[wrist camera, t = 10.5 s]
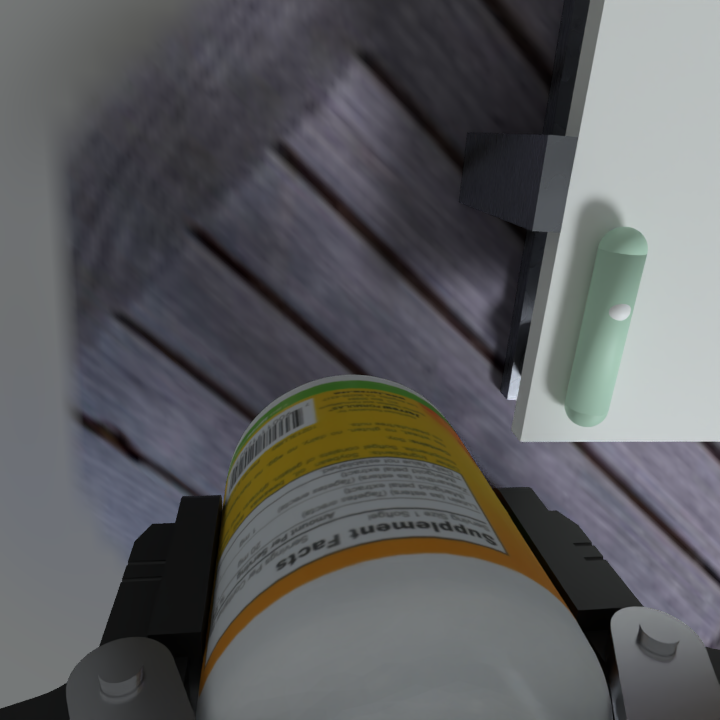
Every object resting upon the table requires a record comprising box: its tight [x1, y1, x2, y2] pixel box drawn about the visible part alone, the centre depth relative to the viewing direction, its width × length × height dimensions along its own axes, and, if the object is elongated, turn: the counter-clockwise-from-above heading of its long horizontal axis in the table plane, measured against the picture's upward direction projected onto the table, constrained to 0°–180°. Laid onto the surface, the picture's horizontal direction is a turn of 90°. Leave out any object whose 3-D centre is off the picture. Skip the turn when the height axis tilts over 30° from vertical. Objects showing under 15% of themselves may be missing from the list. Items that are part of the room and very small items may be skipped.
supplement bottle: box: [196, 375, 613, 720], centre depth 10 cm, size 5×5×10 cm
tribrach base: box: [459, 0, 590, 400], centre depth 25 cm, size 22×17×8 cm
